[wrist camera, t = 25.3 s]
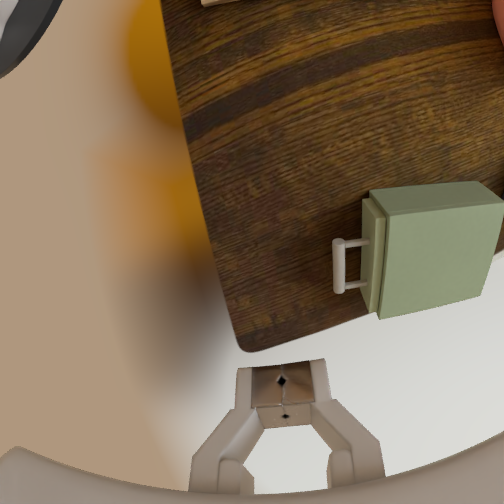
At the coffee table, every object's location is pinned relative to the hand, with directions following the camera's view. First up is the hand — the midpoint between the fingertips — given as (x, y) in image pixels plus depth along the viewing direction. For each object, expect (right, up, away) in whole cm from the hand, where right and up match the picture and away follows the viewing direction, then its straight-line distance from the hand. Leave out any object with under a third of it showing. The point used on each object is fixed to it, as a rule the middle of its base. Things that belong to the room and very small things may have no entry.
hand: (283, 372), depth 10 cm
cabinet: (+22, +6, +25) cm, 34 cm away
